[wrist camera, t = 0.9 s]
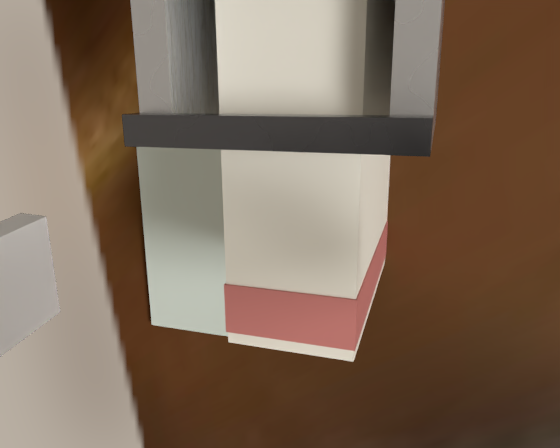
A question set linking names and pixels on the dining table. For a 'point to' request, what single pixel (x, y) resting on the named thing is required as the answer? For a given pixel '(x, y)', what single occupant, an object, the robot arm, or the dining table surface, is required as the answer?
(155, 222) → the pad
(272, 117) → the dispenser
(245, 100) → the pink-banded white block
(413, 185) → the dining table surface
